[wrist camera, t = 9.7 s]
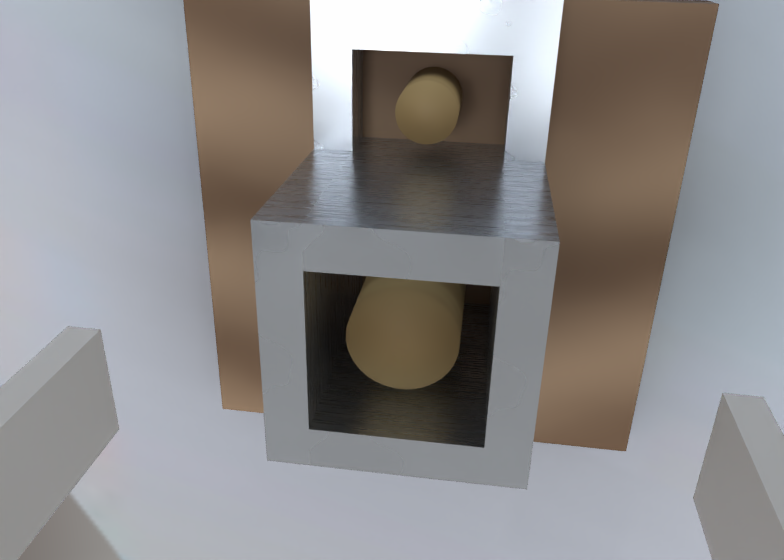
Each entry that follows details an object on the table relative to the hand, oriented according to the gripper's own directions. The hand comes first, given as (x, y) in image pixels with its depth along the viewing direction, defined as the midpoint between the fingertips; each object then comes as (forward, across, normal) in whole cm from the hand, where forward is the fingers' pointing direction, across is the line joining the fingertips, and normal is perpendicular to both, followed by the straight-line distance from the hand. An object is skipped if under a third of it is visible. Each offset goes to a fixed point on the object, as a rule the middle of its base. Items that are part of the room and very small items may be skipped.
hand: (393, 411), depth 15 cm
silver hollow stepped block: (+10, 0, 0) cm, 10 cm away
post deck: (+12, 0, -1) cm, 12 cm away
